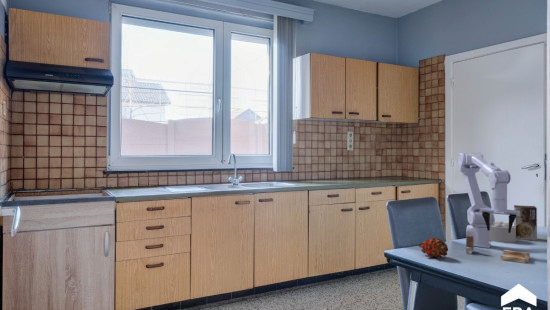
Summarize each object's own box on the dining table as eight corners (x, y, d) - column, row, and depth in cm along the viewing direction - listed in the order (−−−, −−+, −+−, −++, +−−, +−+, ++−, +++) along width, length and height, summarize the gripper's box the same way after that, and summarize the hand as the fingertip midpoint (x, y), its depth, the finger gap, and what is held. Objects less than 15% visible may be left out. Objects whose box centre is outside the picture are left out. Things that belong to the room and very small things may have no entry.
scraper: (465, 253, 165) (465, 236, 165) (467, 250, 170) (468, 234, 170) (471, 254, 164) (471, 237, 164) (474, 251, 169) (474, 235, 169)
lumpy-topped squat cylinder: (487, 236, 199) (487, 219, 199) (517, 240, 191) (517, 222, 191) (483, 240, 191) (483, 222, 191) (514, 244, 183) (514, 225, 183)
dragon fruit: (449, 264, 154) (420, 262, 163) (455, 248, 159) (427, 247, 168) (441, 249, 152) (412, 247, 160) (447, 233, 157) (419, 233, 165)
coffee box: (534, 238, 195) (535, 205, 195) (537, 241, 189) (537, 207, 189) (513, 236, 199) (513, 204, 199) (515, 239, 193) (515, 206, 193)
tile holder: (500, 259, 156) (500, 255, 156) (503, 253, 165) (503, 249, 165) (528, 263, 151) (528, 259, 151) (529, 257, 160) (529, 253, 160)
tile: (506, 260, 157) (506, 257, 157) (507, 256, 162) (507, 253, 162) (523, 262, 154) (523, 259, 154) (524, 259, 159) (524, 256, 159)
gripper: (478, 198, 166) (478, 230, 166) (518, 201, 157) (518, 235, 157) (481, 197, 171) (480, 228, 172) (520, 199, 163) (519, 232, 163)
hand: (498, 231), depth 165 cm, fingers open, 7 cm apart
